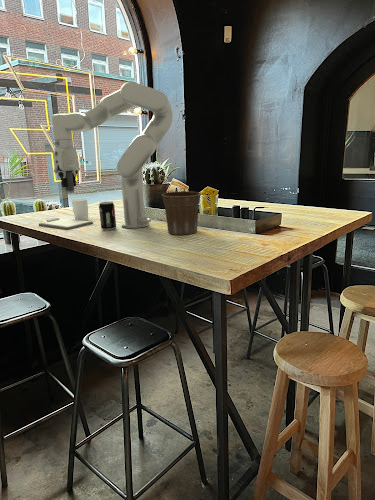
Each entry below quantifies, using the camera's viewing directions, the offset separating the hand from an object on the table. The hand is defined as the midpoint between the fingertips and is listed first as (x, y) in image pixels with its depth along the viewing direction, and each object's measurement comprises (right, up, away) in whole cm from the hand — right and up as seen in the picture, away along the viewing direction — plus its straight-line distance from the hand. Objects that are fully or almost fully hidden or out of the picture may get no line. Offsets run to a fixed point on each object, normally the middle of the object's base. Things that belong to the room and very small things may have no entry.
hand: (69, 186), depth 166 cm
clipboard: (-6, -16, +15) cm, 23 cm away
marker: (0, -3, +1) cm, 3 cm away
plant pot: (+51, -21, -11) cm, 57 cm away
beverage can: (+18, -19, 0) cm, 26 cm away
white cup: (-2, -13, +27) cm, 30 cm away
